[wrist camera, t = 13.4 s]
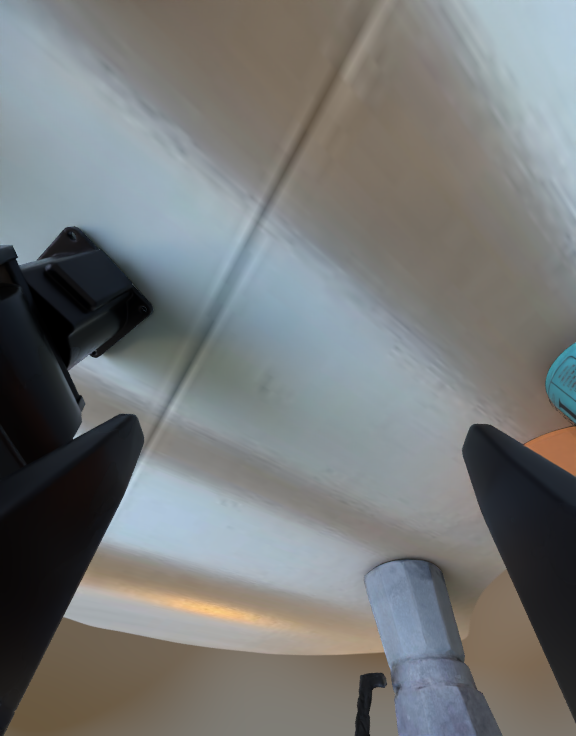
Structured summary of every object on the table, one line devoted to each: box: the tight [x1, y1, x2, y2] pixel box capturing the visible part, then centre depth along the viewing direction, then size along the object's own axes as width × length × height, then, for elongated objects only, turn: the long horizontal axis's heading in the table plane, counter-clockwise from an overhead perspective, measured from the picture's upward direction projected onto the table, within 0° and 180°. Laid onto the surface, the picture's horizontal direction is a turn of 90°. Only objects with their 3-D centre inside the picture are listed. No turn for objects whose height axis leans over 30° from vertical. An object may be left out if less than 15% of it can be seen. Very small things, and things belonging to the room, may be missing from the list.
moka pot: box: [355, 559, 502, 736], centre depth 27 cm, size 10×15×20 cm, turn 85°
